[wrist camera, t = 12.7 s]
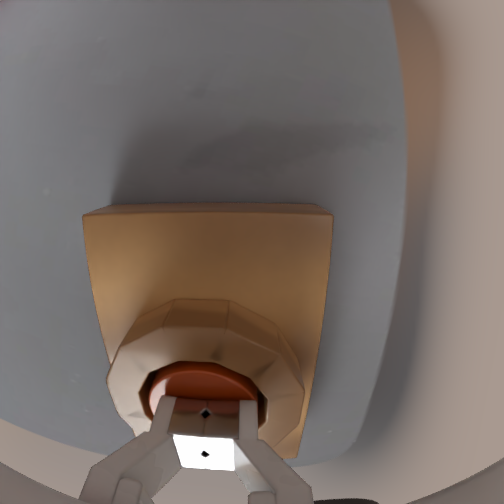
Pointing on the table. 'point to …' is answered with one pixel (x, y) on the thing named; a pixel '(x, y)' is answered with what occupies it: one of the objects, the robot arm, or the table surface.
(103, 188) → the table surface
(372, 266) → the table surface
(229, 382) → the push button
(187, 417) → the robot arm
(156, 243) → the button block
